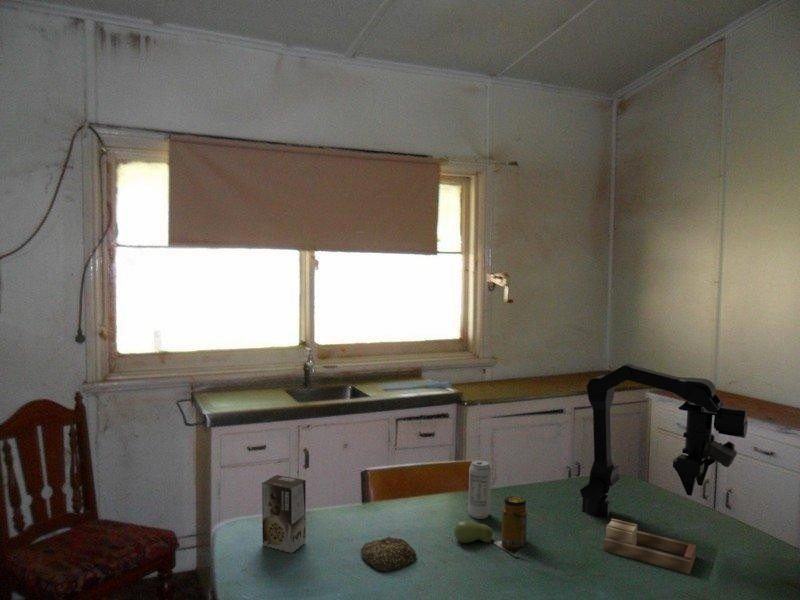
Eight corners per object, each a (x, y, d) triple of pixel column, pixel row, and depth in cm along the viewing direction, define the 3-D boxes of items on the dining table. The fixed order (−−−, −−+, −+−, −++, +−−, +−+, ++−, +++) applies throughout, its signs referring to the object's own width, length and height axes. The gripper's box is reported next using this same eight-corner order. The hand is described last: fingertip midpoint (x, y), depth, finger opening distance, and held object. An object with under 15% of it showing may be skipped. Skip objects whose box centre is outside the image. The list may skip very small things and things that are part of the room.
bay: (601, 558, 143) (602, 539, 143) (615, 537, 154) (615, 520, 153) (688, 582, 132) (689, 562, 132) (696, 558, 143) (697, 540, 143)
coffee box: (306, 542, 148) (307, 479, 148) (291, 554, 143) (291, 488, 142) (276, 535, 152) (277, 473, 151) (261, 546, 146) (261, 482, 146)
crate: (605, 547, 146) (606, 526, 145) (611, 537, 151) (612, 517, 150) (631, 554, 142) (632, 532, 142) (636, 544, 147) (637, 523, 147)
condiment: (515, 537, 153) (516, 491, 153) (538, 551, 146) (539, 503, 145) (493, 543, 150) (494, 497, 149) (515, 558, 142) (516, 509, 142)
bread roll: (376, 576, 134) (376, 555, 133) (354, 552, 145) (354, 532, 144) (425, 563, 140) (425, 543, 139) (401, 541, 150) (401, 522, 150)
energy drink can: (493, 513, 167) (494, 461, 166) (484, 521, 162) (485, 467, 161) (473, 508, 171) (475, 457, 170) (464, 516, 165) (465, 463, 165)
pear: (453, 516, 152) (488, 519, 155) (449, 536, 152) (485, 538, 155) (461, 525, 147) (497, 528, 150) (457, 546, 147) (493, 548, 150)
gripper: (724, 445, 137) (720, 510, 138) (743, 429, 151) (739, 489, 152) (674, 434, 144) (670, 497, 145) (696, 420, 158) (692, 477, 159)
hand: (694, 490), depth 150 cm, fingers open, 9 cm apart
